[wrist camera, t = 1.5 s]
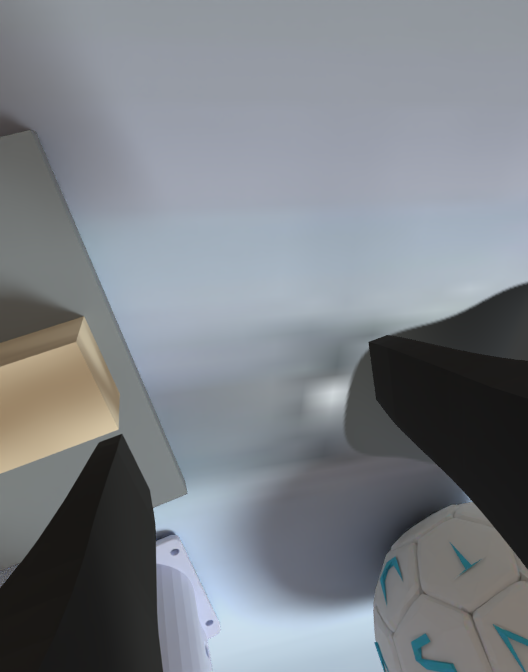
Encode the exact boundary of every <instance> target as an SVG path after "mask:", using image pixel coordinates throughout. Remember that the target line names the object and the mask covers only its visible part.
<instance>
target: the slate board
mask: <svg viewBox="0 0 528 672" xmlns="http://www.w3.org/2000/svg"><path fill="white" fill-rule="evenodd" d="M83 316H84V317H85V319H86V322H87V324H88V326H89V328H90V330H91V332H92V335H93V337H94V339H95V341H96V343H97V345H98V348H99V350H100V352H101V354H102V356H103V358H104V361H105V363H106V365H107V367H108V369H109V371H110V374H111V376H112V378H113V380H114V382H115V384H116V387H117V389H118V391H119V393H120V404H119V430H116V431H113V432H111V433H108V434H105V435H103V436H100V437H97V438H95V439H92V440H89V441H87V442H84V443H81V444H79V445H76V446H73V447H71V448H68V449H65V450H63V451H60V452H57V453H55V454H52V455H49V456H47V457H44V458H41V459H38V460H36V461H33V462H30V463H28V464H25V465H22V466H20V467H17V468H14V469H12V470H9V471H6V472H4V473H1V474H0V571H2V570H4V569H7V568H9V567H11V566H14V565H16V564H19V563H21V562H22V560H23V559H24V558H25V556H26V555H27V554H28V552H29V551H30V550H31V548H32V547H33V546H34V544H35V543H36V542H37V540H38V539H39V537H40V536H41V534H42V533H43V531H44V530H45V528H46V527H47V525H48V524H49V522H50V521H51V519H52V518H53V516H54V515H55V513H56V512H57V510H58V509H59V508H60V506H61V505H62V503H63V501H64V500H65V498H66V497H67V495H68V493H69V492H70V490H71V488H72V487H73V485H74V483H75V482H76V480H77V478H78V477H79V475H80V473H81V472H82V470H83V468H84V466H85V465H86V463H87V461H88V460H89V458H90V456H91V454H92V453H93V451H94V449H95V448H96V446H97V445H98V443H99V442H101V441H104V440H106V439H109V438H112V437H114V436H117V435H120V434H123V436H124V438H125V440H126V442H127V444H128V446H129V448H130V450H131V452H132V454H133V456H134V458H135V460H136V462H137V464H138V467H139V469H140V471H141V473H142V475H143V477H144V479H145V481H146V483H147V485H148V487H149V489H150V493H151V499H152V505H153V508H154V507H157V506H159V505H161V504H164V503H166V502H169V501H171V500H174V499H176V498H178V497H181V496H183V495H186V494H187V489H186V483H185V480H184V478H183V475H182V473H181V471H180V468H179V466H178V464H177V461H176V459H175V456H174V454H173V452H172V449H171V447H170V445H169V442H168V440H167V438H166V435H165V433H164V431H163V428H162V426H161V424H160V421H159V419H158V417H157V414H156V412H155V410H154V407H153V405H152V403H151V400H150V398H149V396H148V393H147V391H146V389H145V386H144V384H143V382H142V379H141V377H140V375H139V372H138V370H137V368H136V365H135V363H134V361H133V358H132V356H131V354H130V351H129V349H128V346H127V344H126V342H125V339H124V337H123V335H122V332H121V330H120V328H119V325H118V323H117V321H116V318H115V316H114V314H113V311H112V309H111V307H110V304H109V302H108V300H107V297H106V295H105V293H104V290H103V288H102V286H101V283H100V281H99V279H98V276H97V274H96V272H95V269H94V267H93V265H92V262H91V260H90V258H89V255H88V253H87V251H86V248H85V246H84V243H83V241H82V239H81V236H80V234H79V232H78V229H77V227H76V225H75V222H74V220H73V218H72V215H71V213H70V211H69V208H68V206H67V204H66V201H65V199H64V197H63V194H62V192H61V190H60V187H59V185H58V183H57V180H56V178H55V176H54V173H53V171H52V169H51V166H50V164H49V162H48V159H47V157H46V155H45V152H44V150H43V148H42V145H41V143H40V141H39V138H38V136H37V133H36V132H34V131H32V130H28V131H24V132H19V133H15V134H11V135H6V136H2V137H0V343H2V342H5V341H8V340H11V339H14V338H17V337H21V336H24V335H27V334H30V333H33V332H36V331H39V330H42V329H46V328H49V327H52V326H55V325H58V324H61V323H64V322H68V321H71V320H74V319H77V318H80V317H83Z"/></svg>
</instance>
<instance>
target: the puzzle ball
mask: <svg viewBox="0 0 528 672" xmlns="http://www.w3.org/2000/svg"><path fill="white" fill-rule="evenodd" d="M373 606H374V609H373V613H374V630H375V640H376V642H374V643H375V646H376V649H377V652H378V654H379V657H380V660H381V663H382V666H383V670H384V672H528V569H527V568H526V567H525V566H524V564H523V563H522V562H521V560H520V559H519V558H518V556H517V555H516V554H515V553H514V551H513V550H512V549H511V548H510V546H509V545H508V544H507V543H506V541H505V540H504V539H503V538H502V536H501V535H500V534H499V533H498V531H497V530H496V529H495V528H494V527H493V525H492V524H491V523H490V522H489V520H488V519H487V518H486V517H485V516H484V514H483V513H482V512H481V511H480V510H479V509H478V507H477V506H476V505H475V504H474V503H473V502H469V503H463V504H458V505H454V504H452V505H450V506H448V507H446V508H444V509H442V510H440V511H438V512H436V513H434V514H432V515H430V516H428V517H427V518H425V519H424V520H422V521H421V522H419V523H418V524H416V525H415V526H413V527H412V528H410V529H409V530H408V531H407V532H405V533H404V534H403V535H402V536H401V537H400V538H399V539H398V540H397V541H396V542H395V543H394V544H393V545H392V547H391V550H390V551H389V552H388V553H387V554H386V557H385V560H384V563H383V567H382V570H381V573H380V576H379V579H378V583H377V586H376V589H375V595H374V603H373Z"/></svg>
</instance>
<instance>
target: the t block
mask: <svg viewBox="0 0 528 672" xmlns="http://www.w3.org/2000/svg"><path fill="white" fill-rule="evenodd" d="M119 404H120V393H119V391H118V389H117V387H116V384H115V382H114V380H113V378H112V376H111V374H110V371H109V369H108V367H107V365H106V363H105V361H104V358H103V356H102V354H101V352H100V350H99V348H98V345H97V343H96V341H95V339H94V337H93V335H92V332H91V330H90V328H89V326H88V324H87V322H86V319H85V317H84V316H83V317H80V318H77V319H74V320H71V321H68V322H64V323H61V324H58V325H55V326H52V327H49V328H46V329H42V330H39V331H36V332H33V333H30V334H27V335H24V336H21V337H17V338H14V339H11V340H8V341H5V342H2V343H0V474H1V473H4V472H6V471H9V470H12V469H14V468H17V467H20V466H22V465H25V464H28V463H30V462H33V461H36V460H38V459H41V458H44V457H47V456H49V455H52V454H55V453H57V452H60V451H63V450H65V449H68V448H71V447H73V446H76V445H79V444H81V443H84V442H87V441H89V440H92V439H95V438H97V437H100V436H103V435H105V434H108V433H111V432H113V431H116V430H119Z"/></svg>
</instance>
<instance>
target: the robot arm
mask: <svg viewBox="0 0 528 672" xmlns="http://www.w3.org/2000/svg"><path fill="white" fill-rule="evenodd" d="M369 349H370V356H371V364H372V371H373V378H374V386H375V393H376V400H377V401H378V402H379V404H380V405H381V406H382V408H383V409H384V410H385V412H386V413H387V414H388V415H389V417H390V418H391V419H392V420H393V422H394V423H395V424H396V425H397V426H398V427H399V428H400V429H401V430H402V431H403V432H404V433H405V434H406V435H407V436H408V437H409V438H410V439H411V440H412V441H413V442H414V443H415V444H416V445H417V446H418V447H419V448H420V449H421V450H423V452H424V453H425V454H426V455H428V456H429V457H430V458H431V459H432V460H433V461H434V462H435V463H436V464H437V465H438V466H439V467H440V468H441V469H442V470H443V471H444V472H445V473H446V474H447V475H448V476H449V477H450V478H451V479H452V480H453V481H454V482H455V483H456V484H457V485H458V486H459V487H460V488H461V489H462V490H463V491H464V492H465V493H466V494H467V496H468V497H469V498H470V499H471V500H472V502H473V503H474V504H475V505H476V506H477V507H478V509H479V510H480V511H481V512H482V513H483V514H484V516H485V517H486V518H487V519H488V520H489V522H490V523H491V524H492V525H493V527H494V528H495V529H496V530H497V531H498V533H499V534H500V535H501V536H502V538H503V539H504V540H505V541H506V543H507V544H508V545H509V546H510V548H511V549H512V550H513V551H514V553H515V554H516V555H517V556H518V558H519V559H520V560H521V562H522V563H523V564H524V566H525V567H526V568H527V569H528V361H524V360H514V359H506V358H500V357H494V356H488V355H482V354H477V353H471V352H466V351H461V350H456V349H452V348H447V347H442V346H438V345H434V344H429V343H425V342H420V341H416V340H412V339H406V338H402V337H396V336H390V335H386V336H384V337H381V338H378V339H376V340H373V341H370V342H369ZM173 549H176V550H173ZM220 631H221V626H220V622H219V620H218V618H217V616H216V614H215V612H214V610H213V608H212V605H211V603H210V601H209V599H208V597H207V595H206V593H205V591H204V589H203V586H202V584H201V582H200V580H199V578H198V576H197V574H196V572H195V569H194V567H193V565H192V563H191V561H190V559H189V557H188V555H187V553H186V550H185V548H184V546H183V544H182V542H181V540H180V538H179V537H178V536H176V535H170V536H167V537H165V538H162V539H160V540H158V541H156V530H155V519H154V512H153V505H152V499H151V493H150V489H149V487H148V485H147V483H146V481H145V479H144V477H143V475H142V473H141V471H140V469H139V467H138V464H137V462H136V460H135V458H134V456H133V454H132V452H131V450H130V448H129V446H128V444H127V442H126V440H125V438H124V436H123V434H120V435H117V436H114V437H112V438H109V439H106V440H104V441H101V442H99V443H98V445H97V446H96V448H95V449H94V451H93V453H92V454H91V456H90V458H89V460H88V461H87V463H86V465H85V466H84V468H83V470H82V472H81V473H80V475H79V477H78V478H77V480H76V482H75V483H74V485H73V487H72V488H71V490H70V492H69V493H68V495H67V497H66V498H65V500H64V501H63V503H62V505H61V506H60V508H59V509H58V510H57V512H56V513H55V515H54V516H53V518H52V519H51V521H50V522H49V524H48V525H47V527H46V528H45V530H44V531H43V533H42V534H41V536H40V537H39V539H38V540H37V542H36V543H35V544H34V546H33V547H32V548H31V550H30V551H29V552H28V554H27V555H26V556H25V558H24V559H23V560H22V562H21V563H20V564H19V565H18V567H17V568H16V569H15V570H14V572H13V573H12V574H11V575H10V577H9V578H8V579H7V580H6V582H5V583H4V584H3V585H2V586H1V588H0V672H213V669H212V663H211V657H210V651H209V645H208V639H210V638H212V637H214V636H216V635H217V634H219V632H220Z"/></svg>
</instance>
